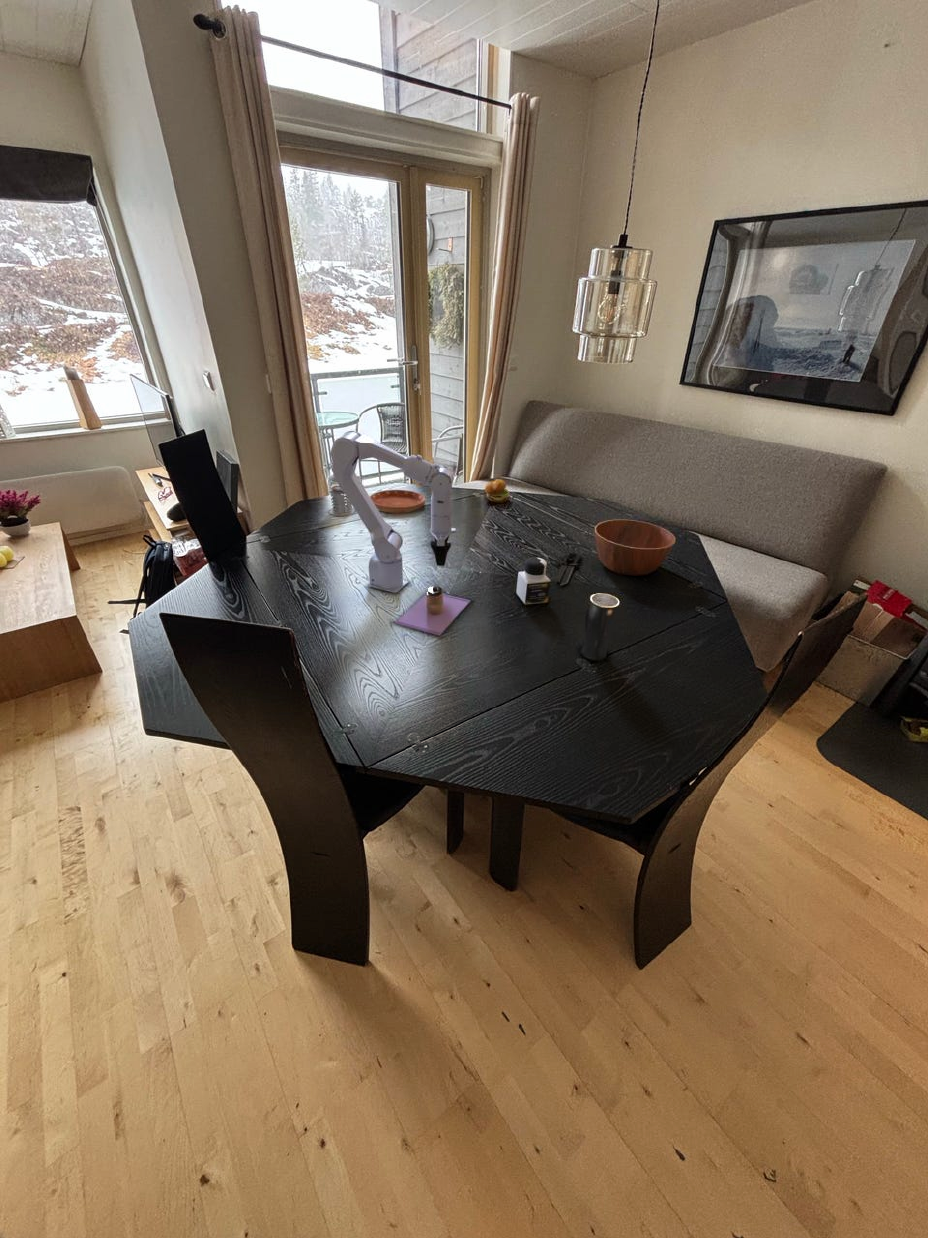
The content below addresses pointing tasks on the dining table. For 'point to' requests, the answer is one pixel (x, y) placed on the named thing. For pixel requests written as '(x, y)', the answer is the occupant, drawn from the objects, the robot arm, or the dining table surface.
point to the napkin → (433, 623)
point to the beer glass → (599, 625)
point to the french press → (339, 501)
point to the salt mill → (434, 600)
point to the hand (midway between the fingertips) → (440, 559)
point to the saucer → (397, 501)
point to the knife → (570, 568)
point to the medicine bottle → (533, 582)
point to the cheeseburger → (497, 491)
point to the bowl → (632, 546)
